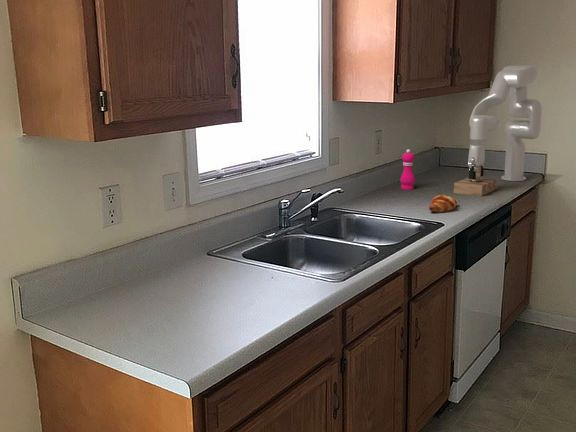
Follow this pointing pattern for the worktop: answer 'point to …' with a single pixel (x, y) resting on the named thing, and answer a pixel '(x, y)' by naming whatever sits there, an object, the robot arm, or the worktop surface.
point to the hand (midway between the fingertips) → (476, 177)
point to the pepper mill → (407, 171)
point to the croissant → (442, 204)
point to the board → (475, 186)
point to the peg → (477, 174)
